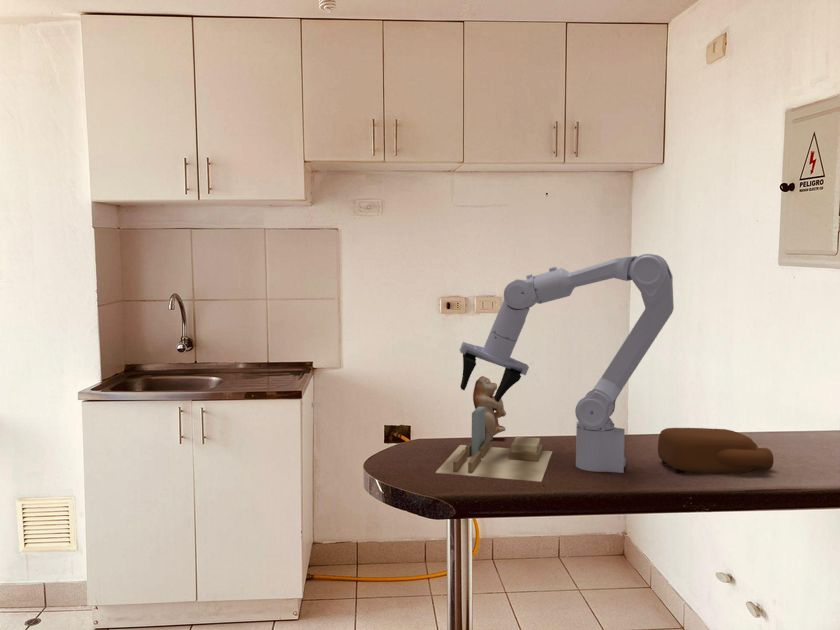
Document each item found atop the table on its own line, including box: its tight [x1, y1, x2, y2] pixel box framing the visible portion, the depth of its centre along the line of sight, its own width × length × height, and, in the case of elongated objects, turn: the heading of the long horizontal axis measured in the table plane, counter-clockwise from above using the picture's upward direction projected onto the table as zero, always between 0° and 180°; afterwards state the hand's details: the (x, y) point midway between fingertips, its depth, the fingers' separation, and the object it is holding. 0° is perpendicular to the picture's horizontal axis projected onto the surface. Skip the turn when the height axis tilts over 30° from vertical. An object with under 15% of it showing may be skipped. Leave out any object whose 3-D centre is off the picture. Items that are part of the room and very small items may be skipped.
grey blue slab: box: [471, 407, 485, 456], centre depth 150 cm, size 2×7×9 cm, turn 165°
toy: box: [657, 427, 775, 475], centre depth 143 cm, size 15×8×20 cm
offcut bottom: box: [508, 444, 543, 462], centre depth 148 cm, size 6×8×2 cm
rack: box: [435, 438, 553, 487], centre depth 144 cm, size 20×22×3 cm
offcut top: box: [510, 436, 541, 454], centre depth 148 cm, size 5×7×2 cm
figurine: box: [472, 375, 507, 441], centre depth 163 cm, size 6×8×15 cm
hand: (479, 394), depth 149 cm, fingers open, 7 cm apart
